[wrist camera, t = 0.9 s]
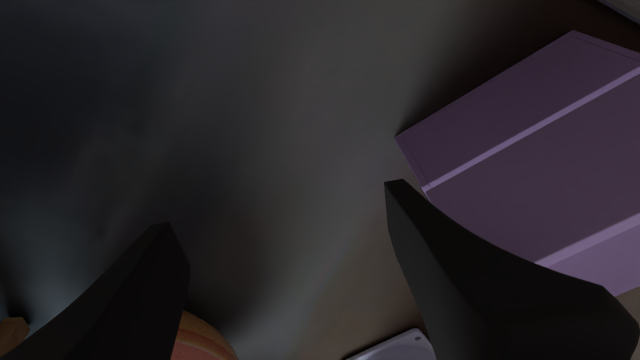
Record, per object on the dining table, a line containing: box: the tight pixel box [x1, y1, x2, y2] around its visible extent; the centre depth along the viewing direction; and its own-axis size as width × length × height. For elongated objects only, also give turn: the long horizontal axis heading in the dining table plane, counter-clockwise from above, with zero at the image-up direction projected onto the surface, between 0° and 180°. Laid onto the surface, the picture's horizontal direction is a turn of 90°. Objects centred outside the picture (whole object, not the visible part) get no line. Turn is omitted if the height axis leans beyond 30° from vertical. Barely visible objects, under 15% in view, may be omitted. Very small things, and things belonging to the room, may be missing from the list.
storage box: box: [394, 30, 640, 297], centre depth 23 cm, size 14×11×6 cm
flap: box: [425, 74, 640, 267], centre depth 14 cm, size 7×11×1 cm
